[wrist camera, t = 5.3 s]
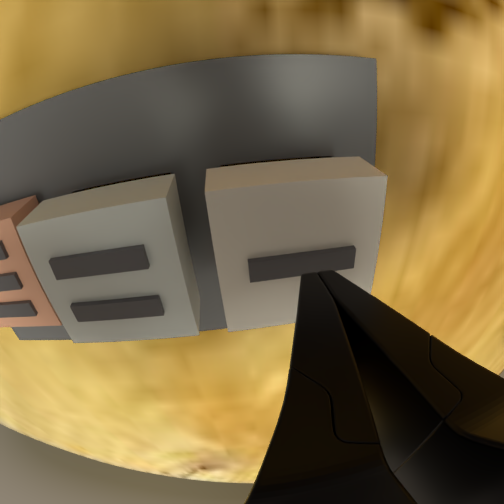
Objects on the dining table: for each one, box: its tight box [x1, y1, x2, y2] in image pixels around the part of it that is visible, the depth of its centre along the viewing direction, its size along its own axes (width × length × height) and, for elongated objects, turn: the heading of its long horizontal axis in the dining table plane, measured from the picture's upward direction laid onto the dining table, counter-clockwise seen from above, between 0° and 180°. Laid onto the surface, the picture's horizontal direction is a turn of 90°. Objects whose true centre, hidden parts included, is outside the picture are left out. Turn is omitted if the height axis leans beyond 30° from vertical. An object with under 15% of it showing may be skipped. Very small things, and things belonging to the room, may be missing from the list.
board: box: [0, 54, 377, 340], centre depth 12 cm, size 20×12×1 cm, turn 94°
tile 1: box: [205, 156, 388, 332], centre depth 10 cm, size 5×5×4 cm
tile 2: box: [16, 174, 200, 343], centre depth 10 cm, size 5×5×4 cm
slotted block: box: [0, 195, 62, 327], centre depth 11 cm, size 5×5×4 cm
